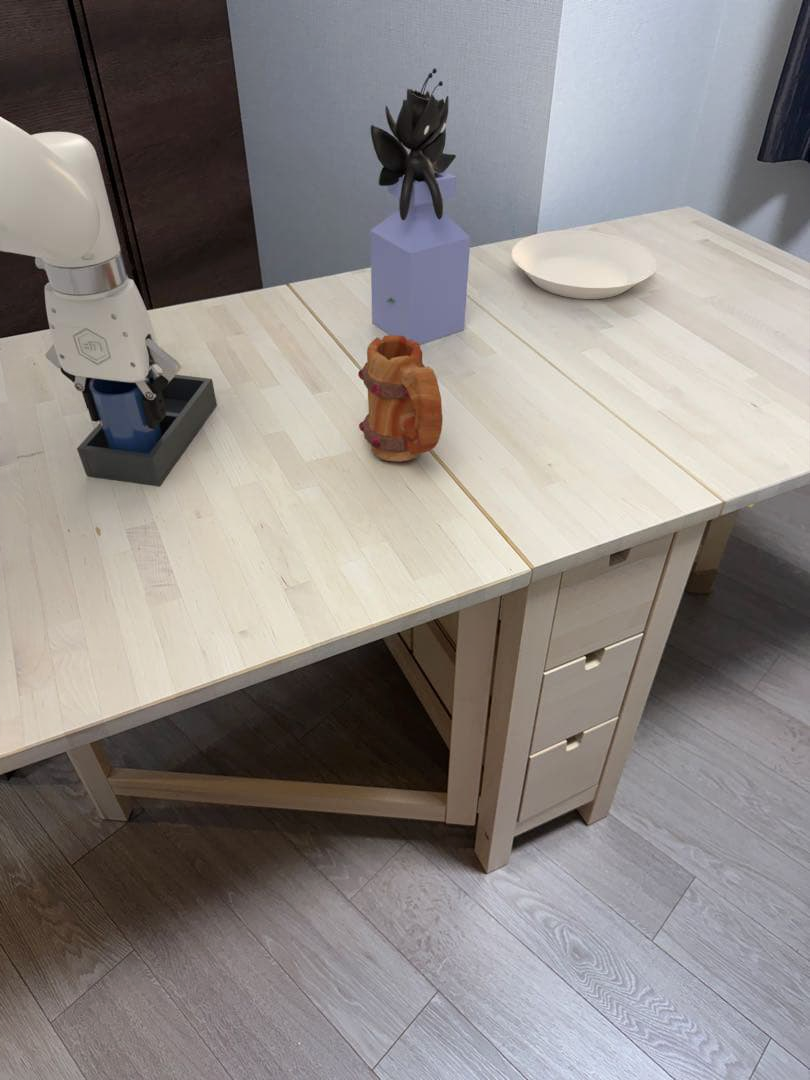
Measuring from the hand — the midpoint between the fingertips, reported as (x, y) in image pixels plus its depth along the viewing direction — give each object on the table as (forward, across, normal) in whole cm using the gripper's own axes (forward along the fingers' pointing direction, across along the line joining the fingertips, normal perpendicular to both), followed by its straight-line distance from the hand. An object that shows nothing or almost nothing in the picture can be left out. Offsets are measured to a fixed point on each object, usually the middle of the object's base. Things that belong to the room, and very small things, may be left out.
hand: (129, 417), depth 88 cm
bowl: (+6, +52, +66) cm, 84 cm away
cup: (+4, 0, 0) cm, 4 cm away
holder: (+6, 0, +4) cm, 7 cm away
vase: (+6, +27, +41) cm, 50 cm away
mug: (+6, +32, +6) cm, 33 cm away
